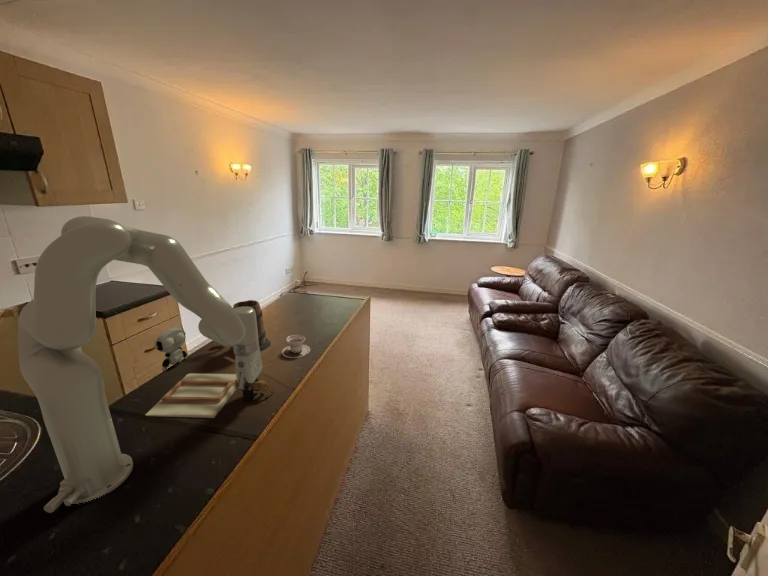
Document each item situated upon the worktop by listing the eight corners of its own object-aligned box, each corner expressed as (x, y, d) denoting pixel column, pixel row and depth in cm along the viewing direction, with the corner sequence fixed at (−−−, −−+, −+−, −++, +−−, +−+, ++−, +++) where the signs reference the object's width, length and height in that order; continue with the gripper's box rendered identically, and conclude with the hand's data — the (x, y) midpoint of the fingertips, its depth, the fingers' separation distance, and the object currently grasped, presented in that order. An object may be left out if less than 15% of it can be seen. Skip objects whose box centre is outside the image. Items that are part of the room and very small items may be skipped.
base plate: (214, 419, 93) (213, 411, 92) (146, 419, 92) (144, 411, 92) (244, 377, 114) (243, 371, 113) (188, 377, 114) (187, 370, 113)
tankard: (278, 340, 143) (275, 299, 137) (256, 358, 127) (251, 313, 122) (234, 334, 148) (229, 294, 142) (207, 350, 132) (200, 307, 126)
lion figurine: (235, 402, 101) (232, 382, 99) (237, 394, 105) (234, 375, 103) (273, 397, 104) (272, 377, 102) (274, 389, 108) (273, 371, 106)
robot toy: (167, 374, 115) (160, 337, 110) (158, 372, 116) (150, 336, 111) (194, 358, 126) (189, 324, 122) (185, 356, 127) (179, 323, 123)
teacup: (316, 350, 136) (315, 337, 134) (295, 361, 126) (294, 348, 124) (296, 342, 142) (296, 330, 140) (275, 353, 132) (274, 340, 130)
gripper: (247, 359, 90) (253, 411, 96) (267, 334, 106) (271, 380, 112) (221, 358, 90) (229, 411, 96) (244, 333, 106) (250, 380, 112)
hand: (251, 394), depth 104 cm, fingers closed on lion figurine, 4 cm apart
